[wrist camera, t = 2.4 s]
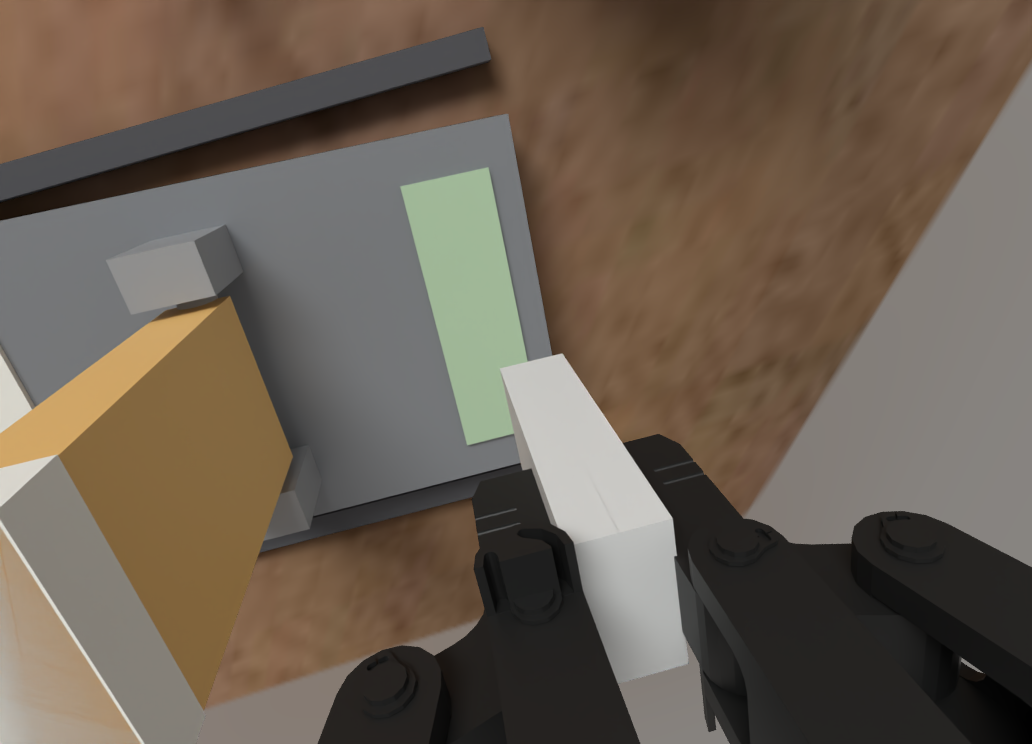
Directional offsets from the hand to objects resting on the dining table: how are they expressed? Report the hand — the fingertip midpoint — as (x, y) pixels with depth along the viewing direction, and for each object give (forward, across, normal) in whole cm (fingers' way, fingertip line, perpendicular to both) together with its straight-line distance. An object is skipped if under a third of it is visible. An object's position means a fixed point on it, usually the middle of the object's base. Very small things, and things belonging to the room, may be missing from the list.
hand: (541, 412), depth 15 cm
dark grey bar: (+11, -9, +8) cm, 16 cm away
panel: (+11, -9, 0) cm, 14 cm away
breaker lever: (+7, -9, 0) cm, 12 cm away
